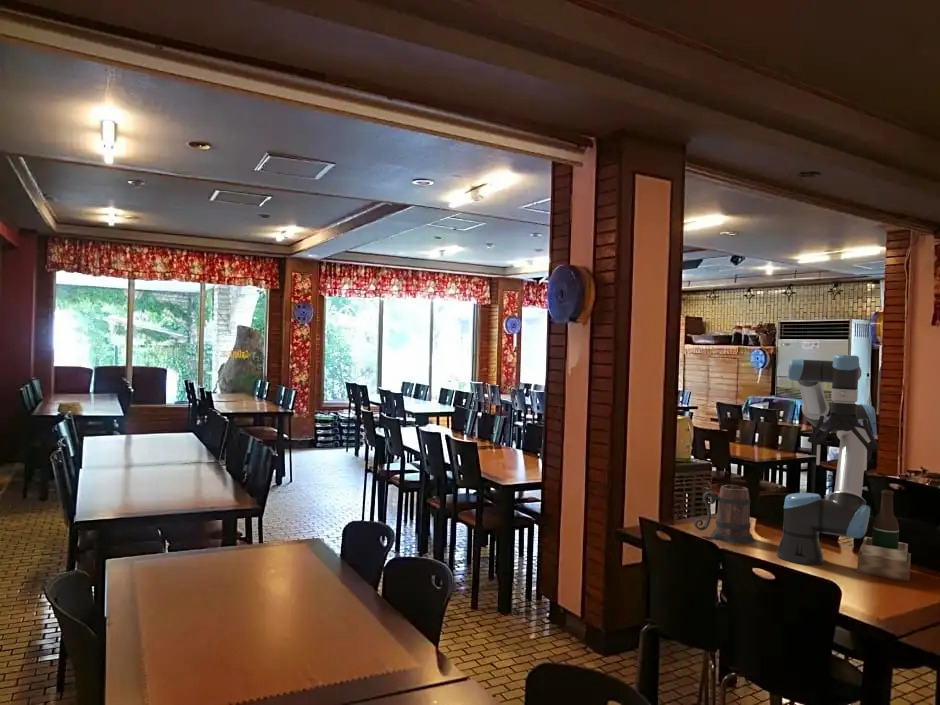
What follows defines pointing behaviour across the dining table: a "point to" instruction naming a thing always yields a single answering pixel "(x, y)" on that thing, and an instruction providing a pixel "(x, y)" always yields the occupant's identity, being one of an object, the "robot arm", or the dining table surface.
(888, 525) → the beer bottle
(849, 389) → the robot arm
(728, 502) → the tankard
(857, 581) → the dining table surface
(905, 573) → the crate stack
